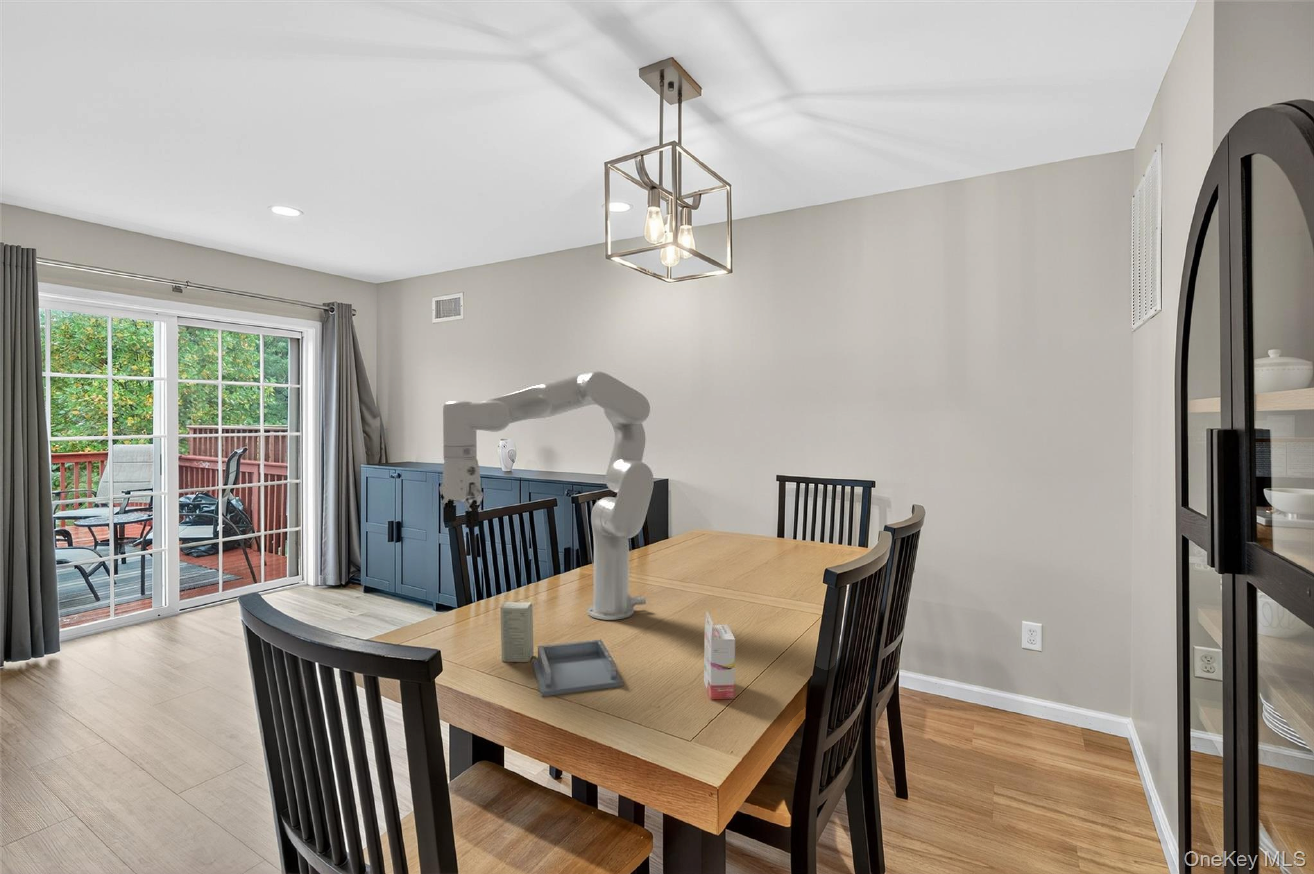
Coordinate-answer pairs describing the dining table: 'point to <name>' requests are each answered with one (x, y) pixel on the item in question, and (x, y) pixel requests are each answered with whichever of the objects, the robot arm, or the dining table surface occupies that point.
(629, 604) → the robot arm
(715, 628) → the ink cartridge box
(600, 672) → the tray
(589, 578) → the dining table surface
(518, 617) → the skincare box
